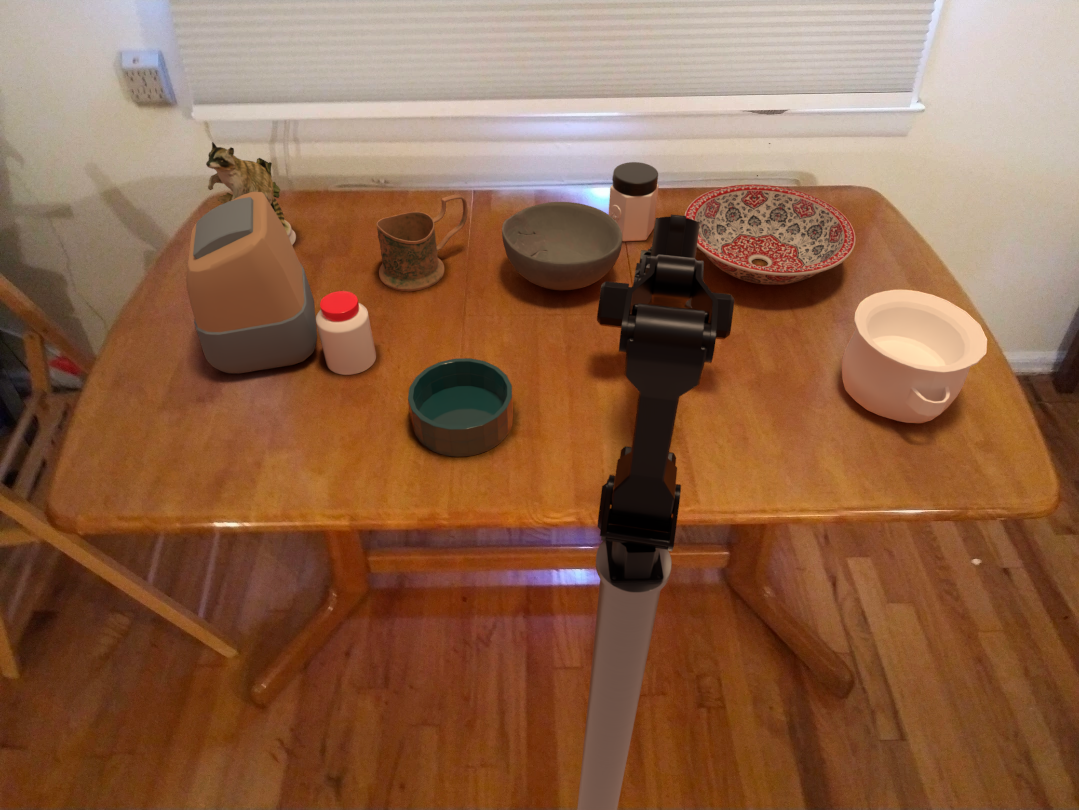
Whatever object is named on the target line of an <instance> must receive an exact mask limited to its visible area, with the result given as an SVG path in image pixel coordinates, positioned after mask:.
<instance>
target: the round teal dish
mask: <svg viewBox="0 0 1079 810" xmlns="http://www.w3.org/2000/svg"><path fill="white" fill-rule="evenodd" d="M407 402H408V403H407V404H408V407H409V409H408V410H409V415H410V421H411V425H412V429H413V432H414V435H415V437H416V438H417V440H418V441H419V442H420V444H421V445H423V446H424V447H425V448H426V449H428V450H430V451H432V452H434V453H436V454H439V455H443V456H447V457H456V458H457V457H458V458H462V457H463V458H464V457H473V456H477V455H480V454H483V453H487V452H488V451H490V450H492V449H494V448H495V447H498V446H499V444H501V443H502V442H503V441H504V440H506V438H507V436H508V435H509V434H510V431H511V429H512V427H513V421H514V407H513V385H512V383H511V381H510V379H509V377H508V375H507V374H506V373H505V372H504V371H503V370H501V369H500V368H499V367H498V366H496V365H495V364H492V363H490V362H488V361H485V360H481V359H476V358H470V357H468V358H467V357H465V358H460V357H459V358H450V359H446V360H442V361H439V362H437V363H435V364H433V365H430V366H428V367H426V368H425V369H423V370H422V371H421V372H420V373H419V374H417V375H416V376H415V377H414V379H413V381H412V383H411V384H410V386H409V388H408V395H407Z"/></svg>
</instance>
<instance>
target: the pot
mask: <svg viewBox="0 0 1079 810" xmlns="http://www.w3.org/2000/svg"><path fill="white" fill-rule="evenodd" d="M853 316H854V318H853V319H854V320H853V324H854V326H855V329H854V330H853V332H852V335H851V337H850V338H849V341H848V343H847V345H846V346H845V348H844V352H843V355H842V358H841V377H842V378H841V379H842V382H843V386H844V390H845V391H846V393H847V394H848V395H849V396H850V397H851V398H852V399H853V400H854V402H856V403H857V404H858V405H860V406H861V407H862V408H863V409H864V410H867V411H868V412H871V413H872V414H875V415H877V416H879V417H883V418H887V419H890V420H894V421H897V422H902V423H906V424H923V423H927V422H930V421H933V420H934V419H935V418H937V417H938V416H940V415H942V413H943V412H945V411H946V410H947V409H948V408H949V407H950V406H951V404H952V403H953V402H954V401H955V400H956V399H957V397H958V396H959V394H960V393H961V391H962V389H963V387H964V385H965V382H966V380H967V378H968V375H969V372H970V369H971V367H973V366H976V365H978V363H980V362H981V360H982V359H983V358H984V357H985V356H986V354H987V351H988V350H987V348H988V338H987V336H986V334H985V332H984V330H983V328H982V325H981V324H980V323H979V322H978V321H977V320H976V319H974V318H973V317H972V316H971V315H970V314H969V313H968V312H967V311H966V310H964V309H962V308H961V307H959V306H957V305H956V304H954V303H953V302H950V301H949V300H947V299H945V298H942V297H940V296H937V295H934V294H931V293H928V292H923V291H918V290H911V289H889V290H884V291H879V292H875V293H873V294H870V295H869V296H866V297H865V298H864V299H863V300H861V301H859V304H858V305H857V308H856V310H855V312H854V315H853Z"/></svg>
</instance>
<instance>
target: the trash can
mask: <svg viewBox="0 0 1079 810" xmlns="http://www.w3.org/2000/svg"><path fill="white" fill-rule="evenodd" d="M187 259H188V260H187V267H186V275H185V285H186V291H187V296H188V300H189V305H190V308H191V311H192V314H193V318H194V319H193V324H194V326H195V330H196V333H197V336H198V339H199V342H200V345H201V349H202V352H203V354H204V357H205V360H206V361H207V362H208V364H210V365H211V366H212V367H213V368H214V369H216V370H218V371H220V372H223V373H226V374H244V373H245V374H246V373H250V372H256V371H264V370H269V369H275V368H282V367H288V366H293V365H296V364H298V363H303V362H305V360H306V359H308V358H309V357H310V356H311V355H313V353H314V351H315V349H316V346H317V340H318V328H317V324H316V308H315V307H316V306H315V299H314V296H313V293H312V290H311V285H310V283H309V280H308V277H307V273H306V271H305V268H304V267H303V264H302V263H301V262H300V260H299V258H298V255H297V252H296V250H295V248H294V245H292V244H291V241H290V239H289V237H288V235H287V232H286V230H285V228H284V226H283V224H282V223H281V221H280V219H279V218H278V216H277V215H276V213H275V211H274V210H273V208H272V206H271V205H270V203H269V201H268V200H267V198H266V197H265V195H264V194H263V193H262V192H250V193H247V194H244V195H241V196H239V197H237V198H235V199H233V200H231V201H229V202H227V203H224V204H223V203H221V204H219V205H218V206H216V207H214V208H212V209H210V210H209V211H208V212H206V213H205V214H203V215H202V217H200V218H199V219H198V220H197V221H196V222H195V224H194V226H193V228H192V230H191V234H190V242H189V251H188V258H187Z"/></svg>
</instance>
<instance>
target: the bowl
mask: <svg viewBox="0 0 1079 810" xmlns="http://www.w3.org/2000/svg"><path fill="white" fill-rule="evenodd" d="M608 214H609V213H606V212H605V211H603V210H601V209H600V208H596V207H594V206H591V205H589V204H583V203H579V202H572V201H571V202H570V201H550V202H549V201H548V202H544V203H539V204H535V205H531V206H528V207H526V208H525V207H524V208H523V209H521V210H519V211H517V212H516V213H514V214H513V215H512V214H511V216H509V217H508V218H506V219H505V220H504V221H503V223H502V226H501V237H502V243H503V246H504V247H503V248H504V251H505V254H506V256H507V259H508V261H509V262H510V264H511V266H512V267H513V268H514V270H515V271H516V272H517V273H518V274H519V275H521V277H523V278H524V279H525V280H527V281H528V282H530V283H532V284H534V285H536V286H538V287H541V288H544V289H547V290H548V289H549V290H552V291H553V290H554V291H571V290H578V289H583V288H586V287H589V286H591V285H594V284H595V283H597V282H599V281H600V280H601V279H602V278H604V277H605V276H606V275H607V274H608V273H609V272H610V271H611V269H613V268H614V265H616V263H617V261H618V259H619V257H620V254H621V251H622V248H623V247H622V246H623V241H622V232H621V229H620V227H619V225H618V224H617V222H616V221H615V220H614V219H613V218H612V217H611V216H609V215H608Z"/></svg>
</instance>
